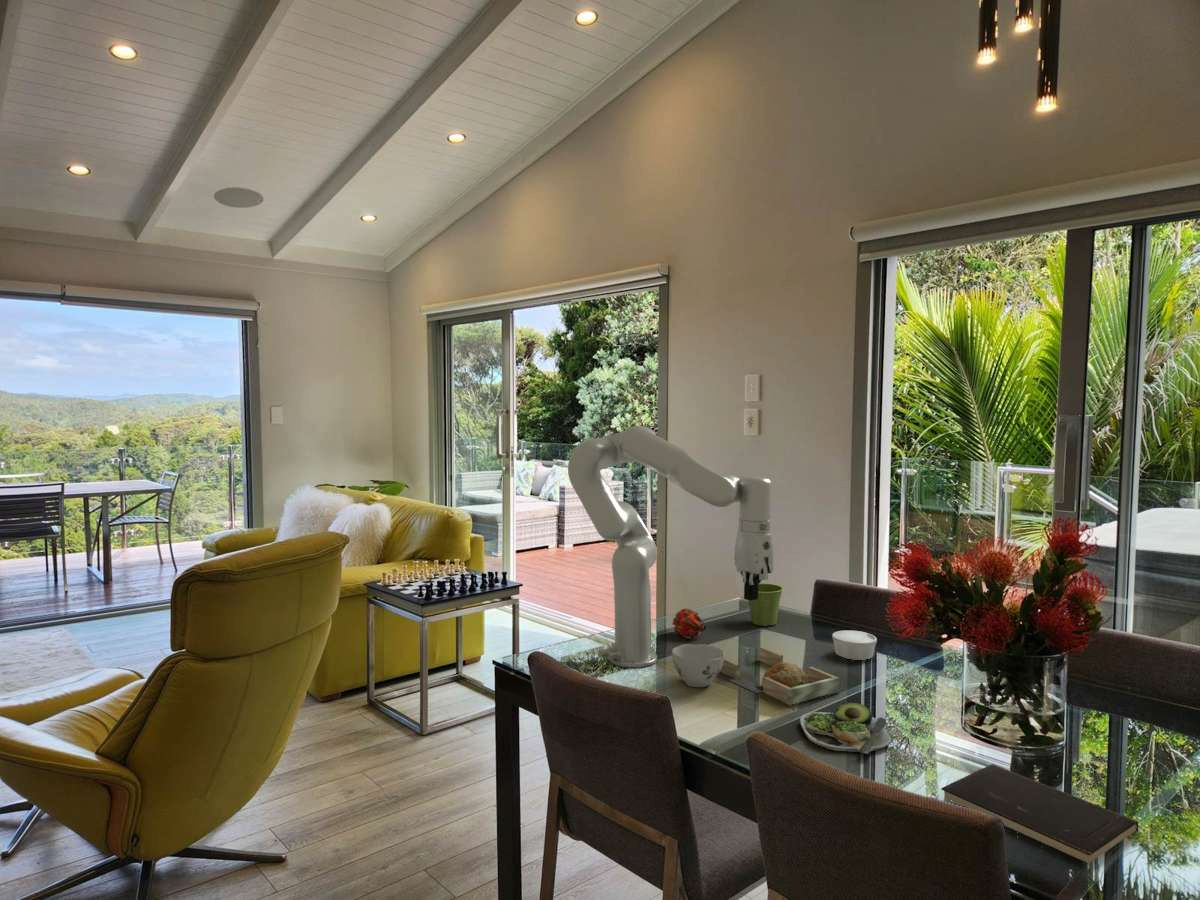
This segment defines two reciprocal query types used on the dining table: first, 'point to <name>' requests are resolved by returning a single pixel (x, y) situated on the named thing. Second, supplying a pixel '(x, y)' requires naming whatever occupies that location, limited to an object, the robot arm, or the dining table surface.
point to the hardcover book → (1042, 812)
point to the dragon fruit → (688, 623)
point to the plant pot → (766, 604)
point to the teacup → (698, 663)
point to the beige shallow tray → (817, 687)
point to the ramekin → (854, 644)
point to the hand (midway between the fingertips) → (750, 599)
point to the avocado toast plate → (849, 727)
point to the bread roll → (787, 674)
